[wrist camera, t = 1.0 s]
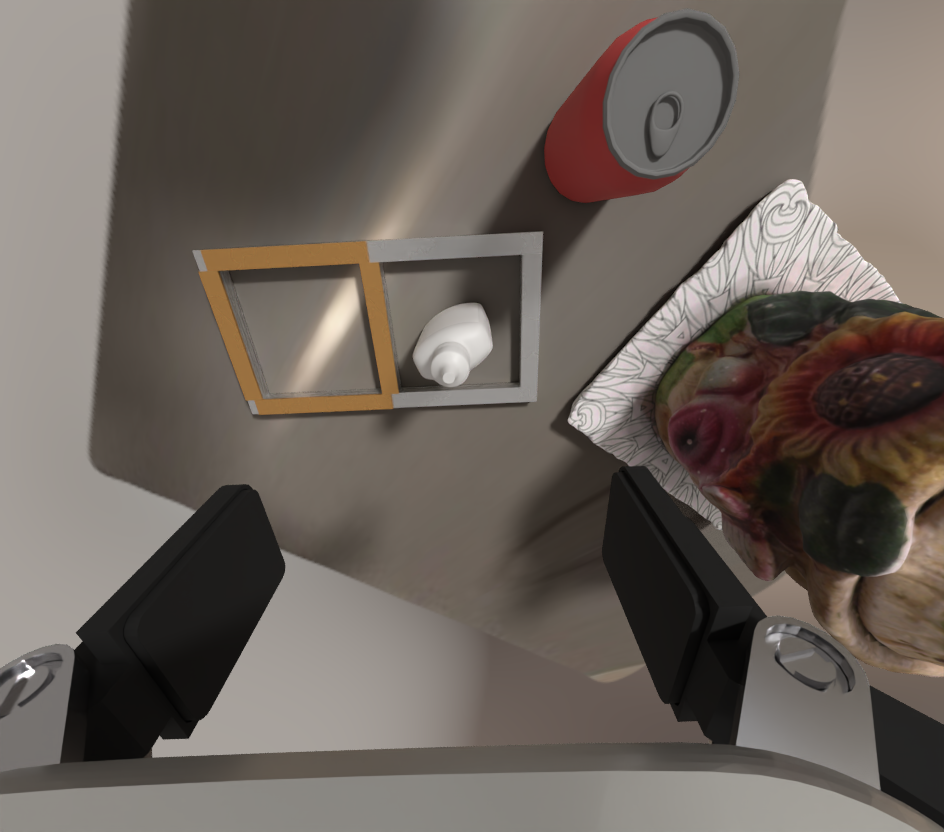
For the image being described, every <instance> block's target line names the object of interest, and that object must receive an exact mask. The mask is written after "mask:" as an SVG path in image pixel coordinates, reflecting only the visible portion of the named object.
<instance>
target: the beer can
mask: <svg viewBox="0 0 944 832" xmlns="http://www.w3.org/2000/svg"><path fill="white" fill-rule="evenodd" d="M738 80H739V68H738V61H737V53H736V48H735V46H734V44H733V42H732V40H731V38H730V36H729V34H728V32H727V30H726V28H725V27H724V26H723V25H722V24H721V23H720V22H718V21H717V20H716V19H715V18H714V17H712V16H711V15H710V14H709V13H705V12H701V11H696V10H692V9H683V10H678V11H674V12H669V13H665V14H663V15H661V16H660V17H657V18H653V19H648V20H646V21H643V22H641V23H639V24H638V25H636V26H635V27H633V28H631V29H630V30H628V31H627V32H625V33H624V34H622V35H621V36H619V37H617V38H616V40H615V41H614V42H613V43H612V44H611V45H610V46H609V48H608V49H607V50H606V51H605V52H604V53H603V55H602V56H601V57H600V58H599V59H598V60H597V62H596V63H595V64H594V66H593V67H592V68H591V69H590V71H589V72H588V73H587V74H586V76H585V77H584V78H583V79H582V81H581V82H580V83H579V85H578V86H577V87H576V88H575V90H574V91H573V92H572V93H571V95H570V96H569V97H568V98H567V100H566V101H565V102H564V104H563V105H562V106H561V107H560V109H559V110H558V111H557V112H556V114H555V116H554V118H553V120H552V123H551V125H550V127H549V129H548V132H547V137H546V142H545V147H544V153H545V167H546V170H547V172H548V175H549V178H550V181H551V183H552V184H553V185H554V186H555V188H556V189H557V190H558V192H559V193H560V194H562V195H563V196H565V197H567V198H568V199H570V200H571V201H576V202H582V203H589V202H595V201H602V200H608V199H614V198H620V197H627V196H633V195H638V194H644V193H649V192H654V191H656V190H658V189H660V188H662V187H664V186H666V185H667V184H669V183H671V182H673V181H675V180H676V179H677V178H679V177H680V176H681V175H682V174H683V173H684V172H685V171H686V170H688V169H689V168H690V167H691V166H693V165H694V164H696V163H697V162H698V161H699V160H700V159H701V158H702V157H703V156H704V155H705V154H706V153H707V152H708V151H709V150H710V149H711V148H712V147H713V145H714V144H715V142H716V141H717V139H718V138H719V136H720V135H721V133H722V132H723V130H724V129H725V127H726V125H727V122H728V120H729V117H730V114H731V112H732V109H733V107H734V104H735V101H736V95H737V87H738Z"/></svg>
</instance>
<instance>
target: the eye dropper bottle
mask: <svg viewBox="0 0 944 832" xmlns="http://www.w3.org/2000/svg"><path fill="white" fill-rule="evenodd" d="M492 348H493V344H492V336H491V330H490V324H489V320H488V318H487V315H486V313H485V311H484V308H483V307H482V305H481V304H479V303H463V304H458V305H455V306H452V307H449V308H447V309H445V310H443V311H441V312H440V313H438V314H437V315H436V316H434V317H433V318H432V319H431V320H430V321H429V322H428V323H427V324H426V326H425V327H424V328H423V331H422V333H421V335H420V337H419V340H418V342H417V345H416V347H415V350H414V353H413V361H414V363H415V365H416V367H417V369H418V370H419V372H420V374H421V375H422V376H423V377H424V378H426V379H430V380H435V381H436V382H438V383H439V384H440V385H443V386H445V387H456V386H459V385H461V384H462V383H464V381H465V380H466V378H467V377H468V375H469V371H470V370H472V369H473V368H475V367H476V366H478V365H479V364H480V363H481V362H482V361H483V360H484V359H485V358H486V357H487V356H488V355H489V354H490V352H491V350H492Z"/></svg>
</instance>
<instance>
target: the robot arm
mask: <svg viewBox="0 0 944 832" xmlns="http://www.w3.org/2000/svg"><path fill="white" fill-rule="evenodd" d="M602 555H603V560H604V563H605V566H606V568H607V571H608V573H609V576H610V578H611V581H612V583H613V585H614V588H615V590H616V593H617V595H618V598H619V600H620V602H621V605H622V607H623V610H624V612H625V615H626V617H627V619H628V622H629V624H630V627H631V629H632V632H633V634H634V636H635V639H636V641H637V644H638V646H639V649H640V651H641V653H642V656H643V658H644V661H645V663H646V666H647V668H648V670H649V673H650V675H651V678H652V680H653V683H654V685H655V687H656V690H657V692H658V694H659V697H660V698H661V700H662V701H663V702H664V703H665V704H669V703H670V704H671V707H672V709H673V711H674V714H675V716H676V718H677V721H678V722H682V721H698V723H699V725H700V727H701V729H702V731H703V733H704V735H705V736H706V737H707V738H709V742H708V744H702V743H683V742H681V743H680V742H674V743H576V744H543V745H542V744H540V745H507V746H473V747H472V746H471V747H469V746H468V747H436V748H405V749H375V750H344V751H316V752H286V753H260V754H236V755H210V756H186V757H159V758H152V747H153V745H154V744H155V742H156V740H157V739H158V737H159V735H160V736H161V737H162V739H188V738H189V737H190V735H191V734H192V732H193V730H194V728H195V726H196V725H197V723H198V721H199V720H201V719H203V718H204V717H205V716H206V715H207V714H208V712H209V711H210V709H211V708H212V705H213V704H214V702H215V700H216V698H217V697H218V695H219V693H220V691H221V689H222V687H223V686H224V684H225V682H226V680H227V678H228V677H229V675H230V673H231V671H232V669H233V667H234V665H235V664H236V662H237V660H238V658H239V656H240V655H241V653H242V651H243V649H244V647H245V646H246V644H247V642H248V640H249V638H250V636H251V635H252V633H253V631H254V629H255V627H256V625H257V624H258V621H259V620H260V618H261V616H262V614H263V613H264V611H265V609H266V607H267V605H268V604H269V602H270V600H271V598H272V596H273V594H274V593H275V591H276V589H277V587H278V585H279V583H280V582H281V580H282V578H283V576H284V573H285V562H284V559H283V556H282V554H281V551H280V549H279V546H278V543H277V541H276V538H275V535H274V533H273V530H272V528H271V525H270V522H269V520H268V517H267V514H266V512H265V509H264V506H263V504H262V501H261V499H260V496H259V494H258V492H257V491H256V490H253V489H252V487H250V486H249V485H246V484H243V485H225V486H222V487H221V488H219V489H218V490H217V491H216V492H215V493H214V494H213V495H212V496H211V497H210V498H209V499H208V500H207V501H206V502H205V503H204V504H203V505H202V506H201V507H200V508H199V509H198V510H197V511H196V512H195V513H194V514H193V515H192V516H191V518H189V519H188V520H187V521H186V522H185V523H184V525H182V526H181V528H179V530H177V531H176V532H175V533H174V534H173V535H172V536H171V537H170V538H169V539H168V540H167V541H166V542H165V543H164V544H163V546H161V548H160V549H158V550H157V551H156V552H155V554H154V555H153V556H152V557H151V558H150V559H149V560H148V561H147V562H146V563H145V564H144V565H143V566H142V567H141V568H140V569H139V570H138V571H137V572H136V573H135V574H134V575H133V576H132V577H131V578H130V579H129V580H128V581H127V582H126V583H125V584H124V585H123V586H122V587H121V588H120V589H119V590H118V591H117V592H116V593H115V594H114V595H113V596H112V597H111V598H110V599H109V600H108V601H107V602H106V603H105V604H104V605H103V606H102V607H101V608H100V609H99V610H98V611H97V612H96V613H95V614H94V615H93V616H92V617H91V618H90V619H89V620H88V621H87V622H86V623H85V624H84V625H83V626H82V627H81V628H80V629H79V630H78V631H77V632H76V634H77V635H78V636H79V637H80V638H81V640H82V641H83V642H82V643H81V644H80V645H79V646H78V647H77V648H76V649H75V650H74V649H72V648H71V647H70V646H68V645H63V644H55V645H51V646H46V647H42V648H39V649H37V650H34V651H32V652H29V653H27V654H24V655H23V656H21V657H19V658H17V659H15V660H13V661H12V662H10V663H8V664H6V665H5V666H3V667H2V668H0V832H944V725H943V724H941V723H939V722H938V721H936V720H934V719H932V718H930V717H928V716H926V715H924V714H923V713H920V712H919V711H917V710H915V709H913V708H911V707H909V706H907V705H906V704H904V703H902V702H900V701H898V700H896V699H894V698H892V697H891V696H889V695H887V694H885V693H883V692H881V691H879V690H877V689H875V688H874V687H872V686H870V685H869V683H868V679H867V676H866V674H865V671H864V670H863V669H862V667H861V666H860V664H859V662H858V661H857V660H856V658H855V657H854V656H853V655H852V654H851V653H850V652H849V651H848V650H847V649H846V648H845V647H844V646H843V645H842V644H841V643H839V642H838V641H837V640H835V639H834V638H833V637H831V636H830V635H828V634H827V633H826V632H824V631H822V630H820V629H818V628H816V627H815V626H812V625H811V624H809V623H806V622H803V621H800V620H797V619H794V618H791V617H784V616H772V617H767V616H766V615H765V613H764V612H763V611H762V609H761V608H760V607H759V606H758V604H757V603H756V602H755V601H754V599H753V598H752V597H751V595H750V594H749V593H748V592H747V590H746V589H745V588H744V586H743V585H742V584H741V583H740V581H739V580H738V579H737V578H736V576H735V575H734V574H733V572H732V571H731V570H730V569H729V567H728V566H727V565H726V563H725V562H724V561H723V560H722V558H721V557H720V556H719V555H718V553H717V552H716V551H715V549H714V548H713V547H712V546H711V544H710V543H709V542H708V540H707V539H706V538H705V537H704V535H703V534H702V533H701V532H700V530H699V529H698V528H697V526H696V525H695V524H694V523H693V522H692V521H691V520H690V519H689V518H688V517H685V516H684V515H683V514H682V512H681V511H680V510H679V508H678V507H677V506H676V505H675V503H674V502H673V501H672V499H671V498H670V497H669V495H668V494H667V493H666V492H665V490H664V489H663V488H662V486H661V485H660V484H659V482H658V481H657V480H656V479H655V477H654V476H653V475H652V473H651V472H650V471H649V469H648V468H647V467H646V466H626V467H621V468H620V470H619V472H618V473H614V474H613V476H612V482H611V489H610V496H609V504H608V511H607V518H606V525H605V533H604V540H603V547H602Z"/></svg>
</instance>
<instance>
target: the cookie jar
mask: <svg viewBox="0 0 944 832" xmlns="http://www.w3.org/2000/svg"><path fill="white" fill-rule="evenodd" d="M837 231H838V228H837V225H836V223H834V222H833V221H832V220H831V219H830V218H829V217H828V216H827V215H826V214H825V213H824V212H823V211H822V210H821V209H820V207H819V206H817V205H815V204H813V203H811V202H810V201H809V199H808V195H807V191H806V190H805V188H804V185H803V183H802V182H801V181H799V180H795V179H788V180H786V181H785V182H784V183H782V184H781V185H779V186H778V187H777V188H775V189H774V190H773V191H772V192H771V193H769V194H768V195H767V196H766V197H765V198H764V199H763V200H762V201H761V202H760V203H759V204H757V205H756V206H755V207H754V209H753V210H752V211H751V212H750V214H749V215H748V217H747V218H746V219H745V220H744V221H743V222H742V223H741V224H740V225H739V226H738V227H737V228H736V229H735V230H734V232H733V233H732V234H731V235H730V237H728V238H727V239H726V240H725V241H724V242H723V244H722V246H721V248H720V250H718V251H717V252H716V253H715V254H714V255H713V256H712V257H711V258H710V259H709V260H708V261H707V262H706V263H705V264H704V265H703V266H702V268H701V269H700V270H699V271H698V272H696V273H695V274H694V275H693V276H691V277H690V278H688V279H687V280H686V281H685V282H683V283H682V284H681V285H680V286H679V287H678V288H677V289H676V291H675V292H674V293H673V295H672V296H671V297H670V299H669V300H668V301H667V302H666V303H665V304H664V305H663V306H662V307H661V308H660V309H659V310H658V311H657V312H656V313H655V314H654V315H653V316H652V317H651V318H650V319H649V320H648V322H647V323H646V324H645V325H644V326H643V327H642V328H641V329H640V330H639V331H638V332H637V334H636V335H635V336H634V337H633V338H632V339H631V340H630V341H629V342H628V343H627V344H626V345H625V346H624V348H623V349H622V350H621V351H620V352H619V353H618V354H617V355H616V356H615V357H614V358H613V359H612V360H611V361H610V363H609V364H608V365H607V366H606V367H605V368H604V369H603V370H602V371H601V372H600V373H599V374H598V375H597V376H596V378H595V379H594V380H593V381H592V382H591V383H590V384H589V385H588V386H587V387H586V388H585V389H584V390H583V391H582V392H581V393H580V394H579V395H578V397H577V398H576V399H575V401H574V402H573V404H572V408H571V412H570V415H569V418H568V422H569V424H570V425H572V426H574V427H575V428H576V429H577V430H579V431H581V432H582V433H583V434H585V435H586V436H587V437H588V438H589V439H590V440H591V441H592V442H593V443H594V444H596V445H597V446H599V447H601V448H602V449H604V450H605V451H607V452H608V453H610V454H612V453H613V454H614V456H615V457H616V458H617V459H620V460H622V461H624V462H626V463H627V464H628V465H629V466H646V467H647V468H648V469H649V471H650V472H651V473H652V475H653V476H654V477H655V479H656V480H657V481H658V482H659V484H660V485H661V486H662V488H663V489H665V490H666V491H667V492H668V493H669V494H671V495H673V496H674V497H675V498H677V499H679V500H681V501H682V502H684V503H686V504H688V505H689V506H690V507H691V508H693V509H694V510H695V511H697V512H698V513H699V514H700V515H702V516H703V517H704V518H705V519H706V520H709V521H711V523H712V525H713V527H715V528H716V529H718V530H723V533H724V536H725V538H726V540H727V542H728V543H729V545H730V546H731V547H732V548H733V549H734V550H735V551H736V553H737V554H738V555H739V557H740V558H741V559H742V561H743V562H744V563H745V564H746V566H747V567H748V568H749V569H750V570H751V571H752V572H753V574H754V575H755V576H756V577H758V578H760V579H761V580H765V581H772V580H774V579H775V578H776V577H777V576H778V575H779V574H780V573H781V572H782V571H784V570H785V571H786V573H787V574H788V575H789V576H790V577H791V578H792V579H793V580H795V581H796V582H797V583H798V584H799V585H800V586H802V587H803V588H804V589H806V590H807V591H808V595H809V601H810V605H811V609H812V612H813V615H814V617H815V618H816V620H817V621H818V622H819V623H820V625H821V626H822V627H823V628H824V629H825V630H826V631H827V632H828V633H829V634H830V635H831V636H832V637H833V638H834V639H835V640H837V641H838V642H839V643H841V644H842V645H843V646H844V647H845V648H846V649H847V650H848V651H849V652H850V653H851V654H852V655H853V656H854V657H855V658H857V659H859V660H861V661H863V662H864V663H866V664H868V665H871V666H874V667H878V668H883V669H886V670H888V671H892V672H897V673H906V674H917V675H923V676H928V677H944V318H942V317H939V316H937V315H935V314H932V313H931V312H928V311H925V310H922V309H919V308H914V307H911V306H909V305H906V304H903V303H901V302H900V301H899V299H898V297H897V296H896V294H895V293H894V291H893V289H892V287H891V286H890V285H889V284H888V283H887V282H886V280H885V278H884V276H883V275H881V274H879V273H878V270H877V269H876V268H874V267H873V266H872V265H871V264H870V263H869V262H866V261H864V259H863V258H862V257H861V255H860V254H859V253H858V251H857V249H856V248H855V247H854V246H852V245H851V244H850V243H849V242H847V241H846V240H844V239H843V238H842V237H841V236H840V234H838V233H837Z"/></svg>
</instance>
